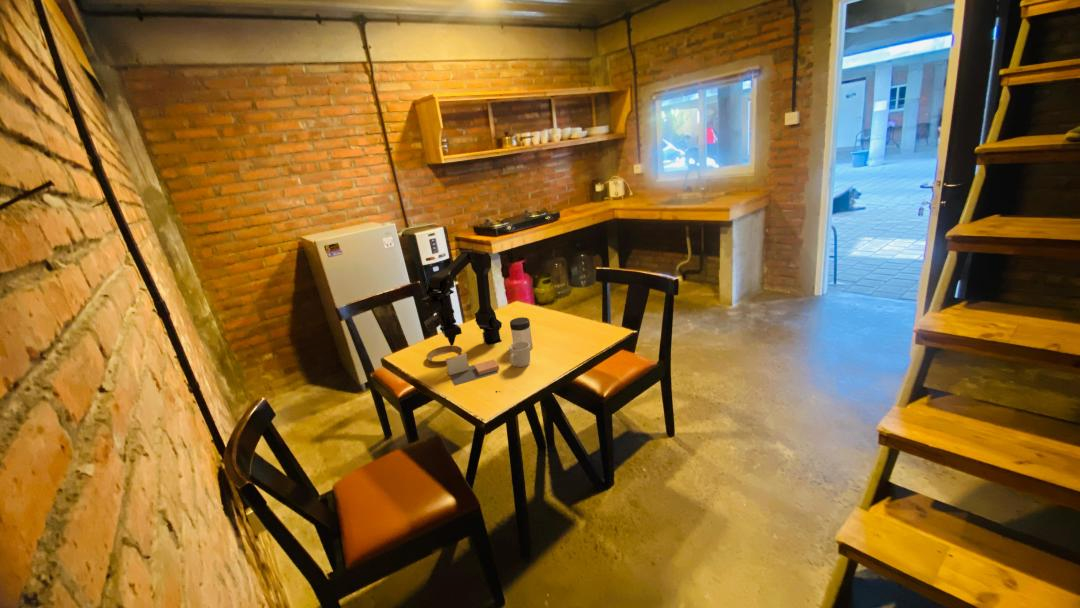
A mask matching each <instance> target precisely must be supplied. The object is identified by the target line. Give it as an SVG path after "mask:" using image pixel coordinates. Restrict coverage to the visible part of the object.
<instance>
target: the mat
mask: <svg viewBox="0 0 1080 608" xmlns="http://www.w3.org/2000/svg"><path fill="white" fill-rule="evenodd" d="M474 365H475V364H472V365H469V370H467V371H463V372H460V373H456V374H453V375H449V374H448V376H449V378H450V380H451V381H452V384H453V386H454V387H455V386H459V385H462V384H466V383H470V382H473V381H475V380H479V379H482V378H485V377H488V376H492V375H495V374H499V370H495V371H492V372H488V373H485V374H482V375H479V374H478V372H477V371H476V369H475V368H474Z"/></svg>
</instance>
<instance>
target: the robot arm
mask: <svg viewBox="0 0 1080 608" xmlns="http://www.w3.org/2000/svg"><path fill="white" fill-rule="evenodd" d="M469 264H470V266H471V270H472V271H473V272H474V274H475V276H476V277H475V278H476V287H477V297H478V306H479V307H478V310H477V312H475V313H474V316H475V319H474V320H475V323H476V325H477V326H478V328H479V330H482V331H483V332H482V339H483V342H484V343H485V344H486V345H487V346H490V345H494V344H497V343H501V342H502V339H501V335H500V330H501V329H502V327H503V326H502V324H503V322H501V321H500V320H499V319H497V315H496V312H495V310H494V309H493V307H492V305H491V303H492V301H491V292H490V281H489V279H490V278H489V272H490V270H491V269H492V257H491V255H490V254H489V253H488V252H486V253H485V252H476V251H473V250H462V251H461V252H460V253H459V255H458V256H457V257H456V258H455V259H454V260H453V261H451V263H449V264H448V266H447V267H446V268H445V269H443V270H441V271H438V272H436V273H434V274H433V275H431V277H429V280H428V281H429V282H428V286H427V287H426V291H425V297H423V298H421V299H420V302H419V304H418V309H417V310H418V312H419V314H420V315H421V317H424V318H428V319H426V320H425V321H423V324H424V325H425V327H426V329H427V331H428V332H430V333H431V332H433V331H434V330H435V329H437V328H438V327H439V326H440V327H439V330H440V331H441V333H442V334H443V336H444V337H445V338H446V339H447V341H448V343H449V346H455V345H454V344H455V341H456V338H457V336H458V335H462V334H463V333H462V332H463V331H462V328H461V327H460V326H459V325H458V324H457V319H456V318H455V314H454V313H455V310H454V309H453V308H454V307H453V304H452V299H451V295H452V294H454V293H455V291H454V290H452V289H451V288H452V286H453V285H454V282H455V279H456V277H457V276H458V275H459V274H461V272H462V271H463V270H465V268H466V267H467V266H468V265H469Z"/></svg>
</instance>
